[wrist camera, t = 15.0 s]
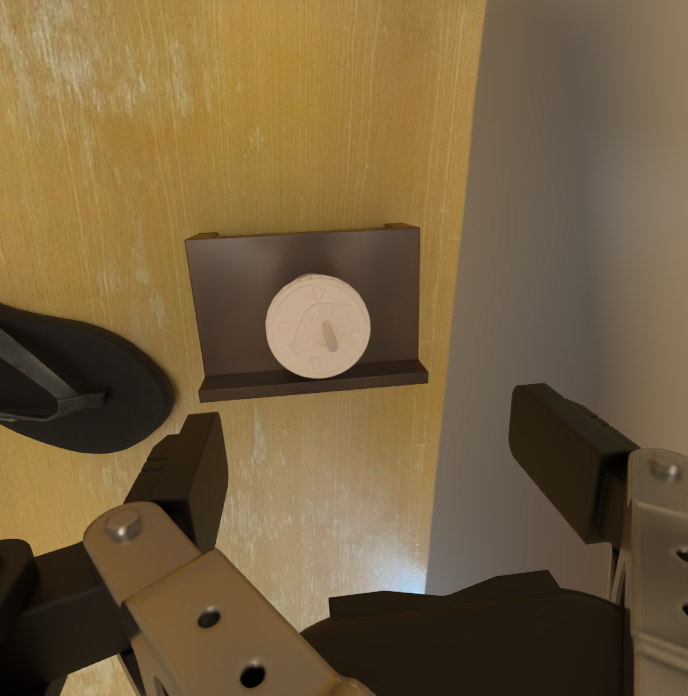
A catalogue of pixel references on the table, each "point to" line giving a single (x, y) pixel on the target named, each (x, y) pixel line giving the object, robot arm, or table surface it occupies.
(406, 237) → the shelf
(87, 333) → the sandal
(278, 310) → the smoothie
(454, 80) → the table surface
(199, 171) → the table surface
